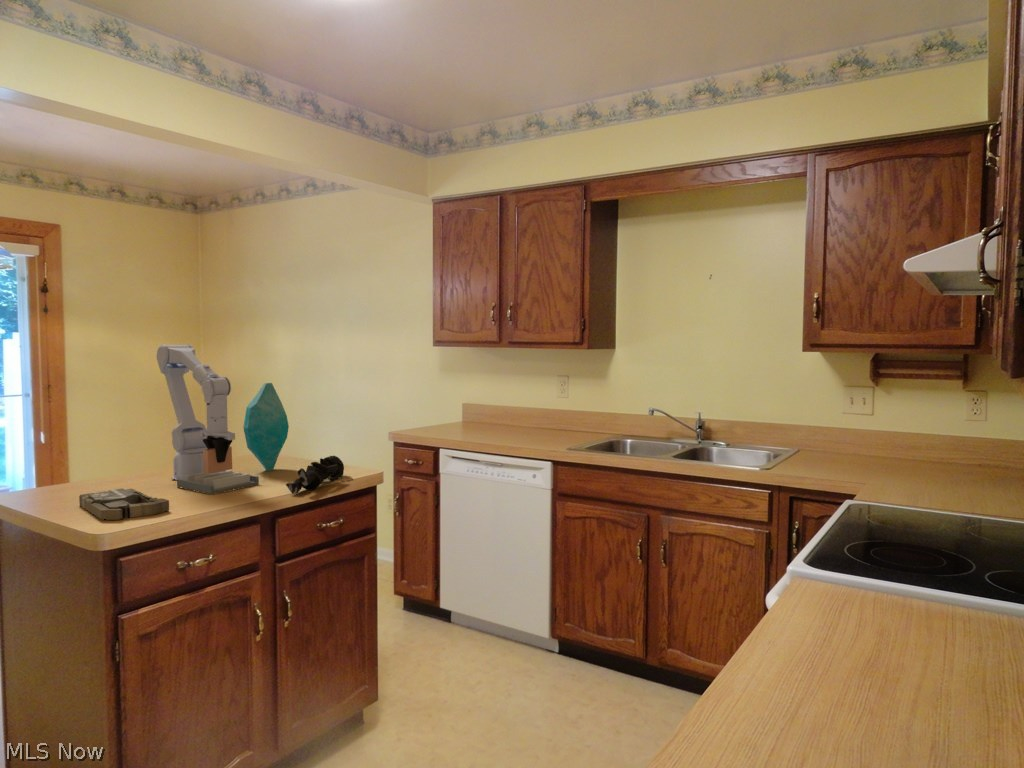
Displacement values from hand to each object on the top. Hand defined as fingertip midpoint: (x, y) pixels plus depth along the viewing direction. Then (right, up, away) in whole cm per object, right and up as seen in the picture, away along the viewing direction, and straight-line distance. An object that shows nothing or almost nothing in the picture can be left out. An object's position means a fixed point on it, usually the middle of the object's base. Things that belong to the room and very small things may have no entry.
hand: (218, 461), depth 198 cm
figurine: (+30, -8, +4) cm, 31 cm away
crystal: (+6, -6, +25) cm, 26 cm away
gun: (-13, -10, -27) cm, 31 cm away
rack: (0, -8, 0) cm, 8 cm away
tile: (0, -3, 0) cm, 3 cm away
